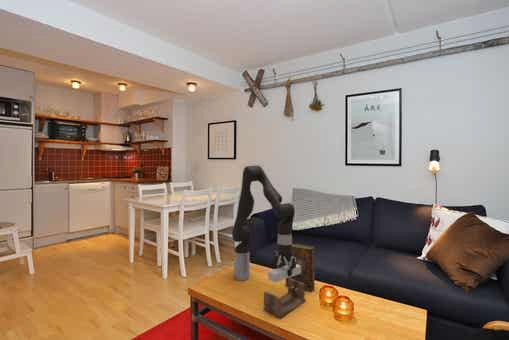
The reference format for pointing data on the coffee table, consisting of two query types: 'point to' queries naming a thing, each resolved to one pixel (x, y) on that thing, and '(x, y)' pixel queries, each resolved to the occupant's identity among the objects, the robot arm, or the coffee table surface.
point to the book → (304, 265)
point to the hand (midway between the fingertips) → (284, 274)
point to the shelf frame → (285, 300)
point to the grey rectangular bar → (282, 273)
